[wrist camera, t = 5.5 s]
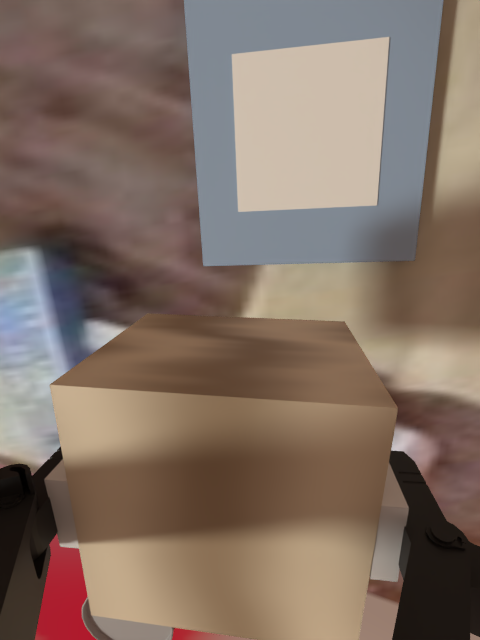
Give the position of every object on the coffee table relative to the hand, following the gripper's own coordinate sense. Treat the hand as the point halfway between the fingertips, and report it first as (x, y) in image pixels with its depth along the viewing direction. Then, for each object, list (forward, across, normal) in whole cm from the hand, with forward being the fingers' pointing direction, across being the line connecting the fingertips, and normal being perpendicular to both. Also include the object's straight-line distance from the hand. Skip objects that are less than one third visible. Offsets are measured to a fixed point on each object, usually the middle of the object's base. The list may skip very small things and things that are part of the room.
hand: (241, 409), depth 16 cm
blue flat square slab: (+13, +3, +14) cm, 20 cm away
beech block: (0, 0, 0) cm, 0 cm away
